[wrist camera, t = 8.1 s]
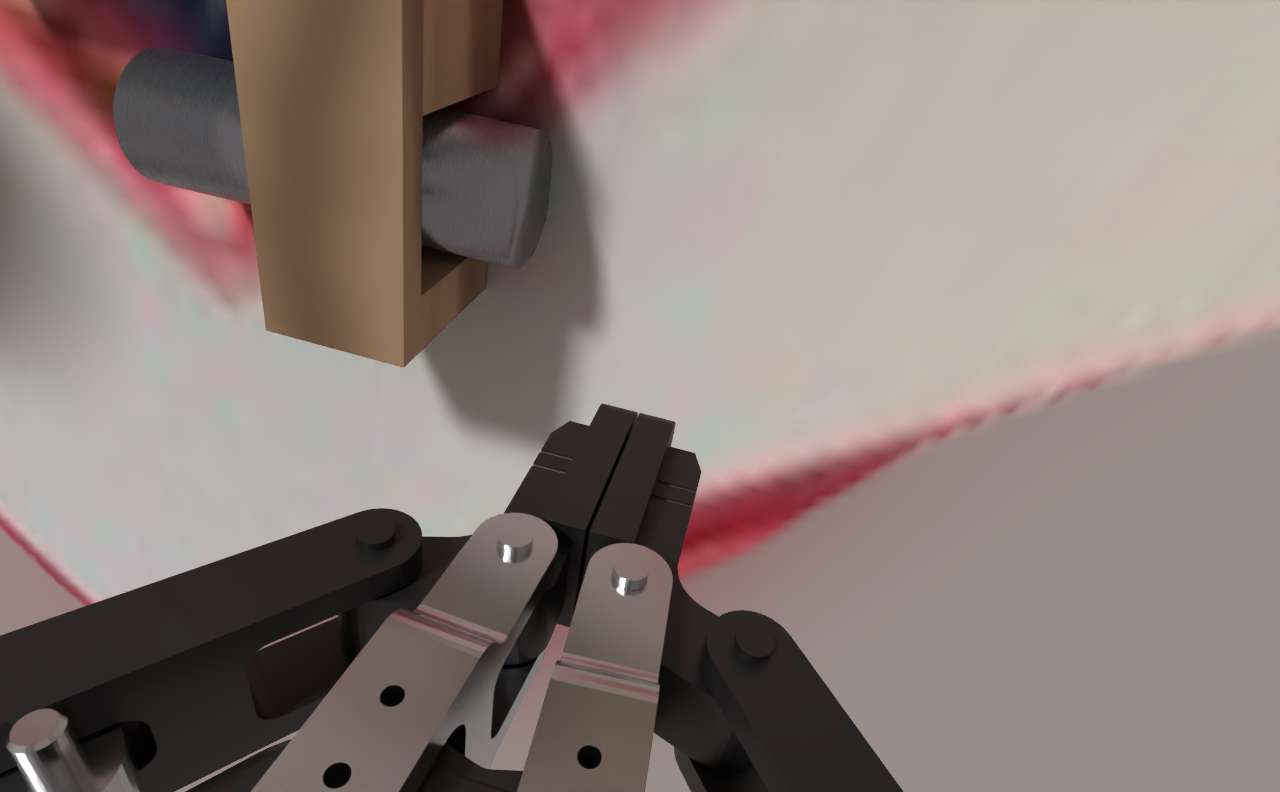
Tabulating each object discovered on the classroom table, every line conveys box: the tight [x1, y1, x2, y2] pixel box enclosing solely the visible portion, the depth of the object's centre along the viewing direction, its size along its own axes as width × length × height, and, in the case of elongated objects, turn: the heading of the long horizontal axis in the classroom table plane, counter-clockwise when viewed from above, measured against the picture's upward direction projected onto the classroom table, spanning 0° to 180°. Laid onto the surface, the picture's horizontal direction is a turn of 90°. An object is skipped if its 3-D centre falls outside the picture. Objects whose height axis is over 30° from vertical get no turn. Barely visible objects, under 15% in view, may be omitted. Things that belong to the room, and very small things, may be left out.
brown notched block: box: [226, 0, 503, 367], centre depth 24 cm, size 5×12×7 cm, turn 170°
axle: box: [113, 46, 552, 269], centre depth 26 cm, size 14×5×5 cm, turn 80°
